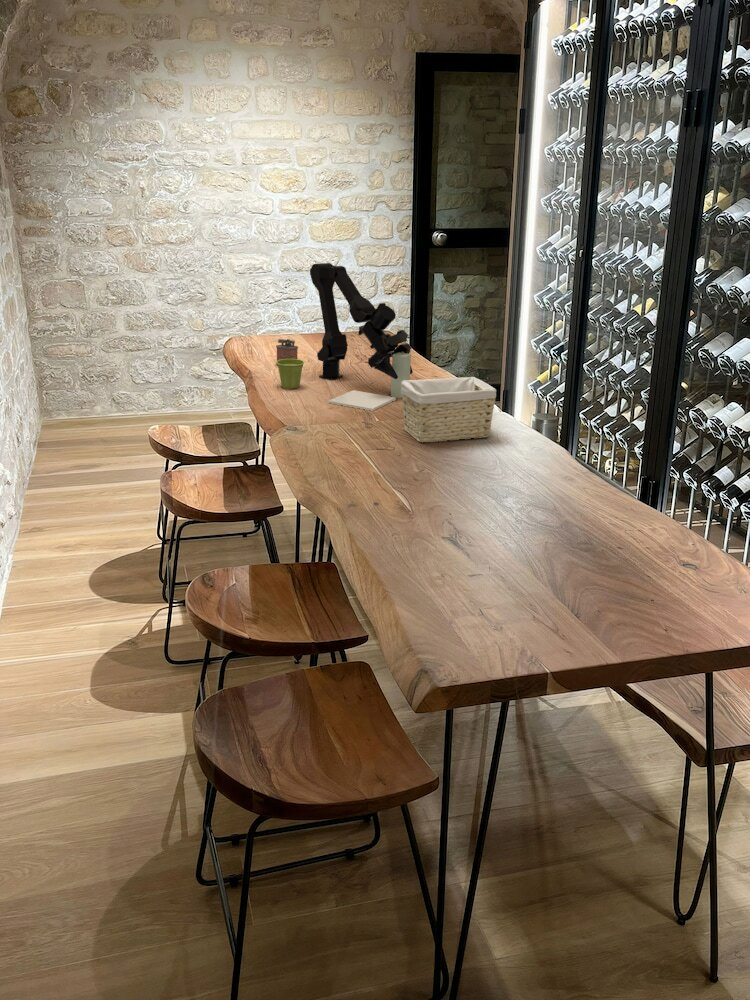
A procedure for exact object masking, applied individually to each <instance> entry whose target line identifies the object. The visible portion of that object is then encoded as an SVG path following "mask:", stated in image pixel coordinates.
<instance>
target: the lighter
mask: <svg viewBox="0 0 750 1000" xmlns="http://www.w3.org/2000/svg"><path fill="white" fill-rule="evenodd" d="M277 343H278V344H277V345H276V346H275V348H276V361H278V360H281V359H298V350H299V346H298V345H295V344H296V342H295V339H290V338H287V339H285V338H284V339H283V338H278V340H277ZM275 364H276V367H278V364H277V363H275Z"/></svg>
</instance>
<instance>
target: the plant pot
mask: <svg viewBox="0 0 750 1000" xmlns="http://www.w3.org/2000/svg"><path fill="white" fill-rule="evenodd" d="M276 363H277V364H278V366H277V368H278V372H279V381H280V385H281V388H283V389H285V388H286V390H293V389H299V388H300V386H301V385H300V384H301V378H302V371H303V368H304V364H305V361H304V360H302V359H299V358H297V359H281V360H278V361H277V360H276ZM276 363H275V364H276Z"/></svg>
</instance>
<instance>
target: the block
mask: <svg viewBox="0 0 750 1000" xmlns="http://www.w3.org/2000/svg"><path fill="white" fill-rule="evenodd" d="M391 359H392V361H391V365H392V367H393V369H394V370H395V372H396V374H397V376H398V378H397V379H394V378H392V377H391V383H390V397H391V396H392V397H398V398H397V399H401V398H403V397H402V393H401V382H402V381H404V380H411V374H410V366H411V367H412V364H411V363H412V354H411V353H409V354H407V353H400V352H398V353H396V354H393V355H392V357H391Z"/></svg>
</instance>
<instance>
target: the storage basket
mask: <svg viewBox="0 0 750 1000" xmlns="http://www.w3.org/2000/svg"><path fill="white" fill-rule="evenodd" d="M401 393H402V397H403V399H402V409H403V411H402V412H403V427H404V431H405V432H407V433H408V434H409V435H410V436H412V437H413V438H414V439H415V440H416V441H417V442H419V443H421V442H422V443H423V442H431V443H436V442H438V441H439V442H448V441H447V440H450V441H460V440H459V439H465V440H469V439H471V438H474V439H481V438H489V437H490V433H491V428H492V420H493V413H494V408H495V403H496V398H497V389H496V388H495V387H493V386H491V385H490V384H488V383H487V382H485V381H483V380H482V379H479V378H477V377H475V376H470V377H469V376H468V377H467V376H466V377H465V376H463V377H447V378H434V379H433V378H430V379H425V378H424V379H410V380H404V381H402V382H401ZM439 442H438V443H439Z"/></svg>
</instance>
